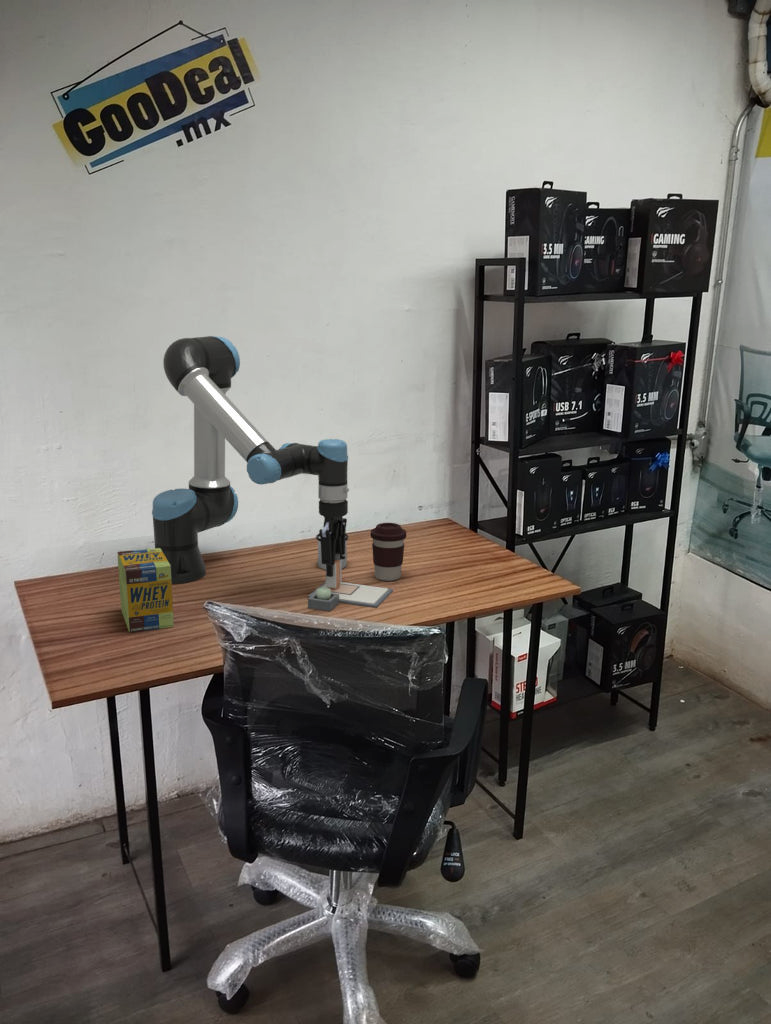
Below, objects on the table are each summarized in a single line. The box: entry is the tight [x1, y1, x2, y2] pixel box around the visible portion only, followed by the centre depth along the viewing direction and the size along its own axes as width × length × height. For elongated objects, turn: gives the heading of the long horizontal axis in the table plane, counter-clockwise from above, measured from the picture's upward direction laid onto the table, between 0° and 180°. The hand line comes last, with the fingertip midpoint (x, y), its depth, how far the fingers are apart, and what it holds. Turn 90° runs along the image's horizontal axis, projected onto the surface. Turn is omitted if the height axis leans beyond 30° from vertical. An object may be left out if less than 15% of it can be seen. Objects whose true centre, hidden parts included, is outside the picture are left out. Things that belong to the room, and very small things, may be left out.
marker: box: [327, 553, 340, 590], centre depth 224 cm, size 3×3×9 cm
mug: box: [315, 533, 349, 571], centre depth 246 cm, size 12×10×9 cm
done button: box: [316, 587, 331, 600], centre depth 215 cm, size 4×4×3 cm
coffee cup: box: [369, 522, 407, 582], centre depth 235 cm, size 10×10×15 cm
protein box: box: [116, 547, 175, 634], centre depth 203 cm, size 10×15×16 cm
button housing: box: [307, 592, 340, 612], centre depth 215 cm, size 6×6×2 cm
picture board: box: [307, 581, 394, 609], centre depth 223 cm, size 19×13×1 cm
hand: (333, 584), depth 225 cm, fingers closed on marker, 3 cm apart
